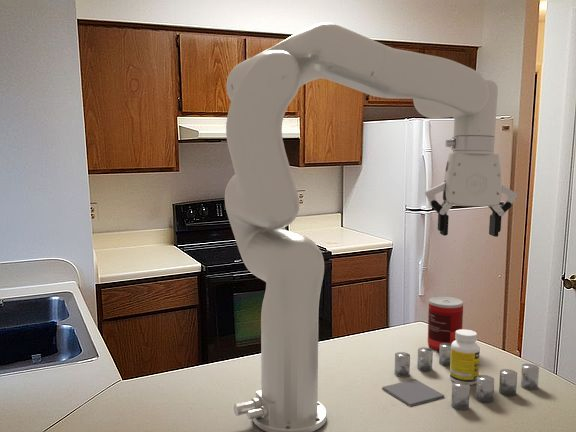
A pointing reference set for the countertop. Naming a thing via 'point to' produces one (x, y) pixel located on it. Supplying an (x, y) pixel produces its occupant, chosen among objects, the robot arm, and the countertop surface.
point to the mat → (412, 392)
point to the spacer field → (462, 388)
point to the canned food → (444, 320)
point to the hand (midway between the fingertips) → (468, 235)
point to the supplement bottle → (465, 357)
